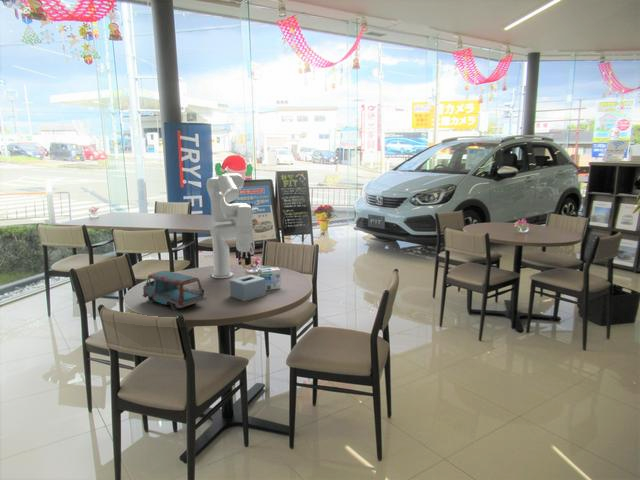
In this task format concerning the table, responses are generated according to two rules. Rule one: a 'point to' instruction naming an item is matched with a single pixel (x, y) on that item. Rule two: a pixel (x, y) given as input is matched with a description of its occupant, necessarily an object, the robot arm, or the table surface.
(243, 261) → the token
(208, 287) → the table surface
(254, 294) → the box
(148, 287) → the toy van
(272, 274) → the light bulb box
